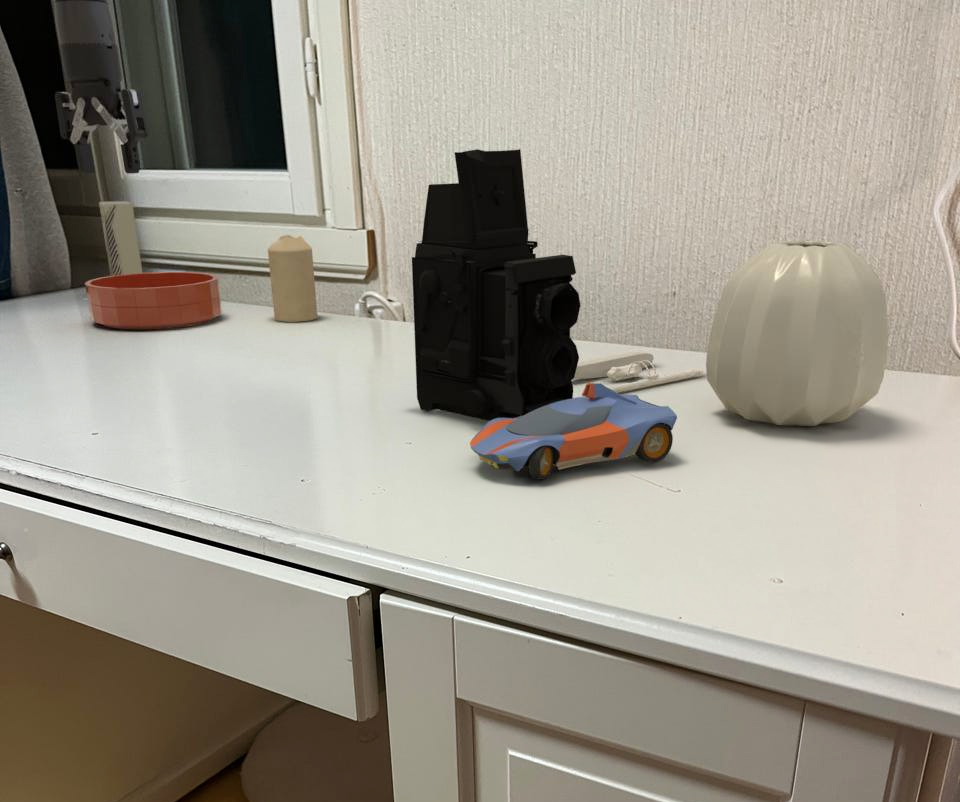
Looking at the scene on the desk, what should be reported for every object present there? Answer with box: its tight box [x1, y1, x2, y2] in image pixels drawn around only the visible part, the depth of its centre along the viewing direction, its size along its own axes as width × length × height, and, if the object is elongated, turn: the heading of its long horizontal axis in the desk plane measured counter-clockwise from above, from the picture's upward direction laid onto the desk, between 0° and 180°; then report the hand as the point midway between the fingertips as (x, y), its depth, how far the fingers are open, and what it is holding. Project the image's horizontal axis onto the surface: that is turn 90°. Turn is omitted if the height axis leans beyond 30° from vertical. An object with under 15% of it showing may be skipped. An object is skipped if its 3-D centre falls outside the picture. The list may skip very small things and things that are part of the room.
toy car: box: [469, 382, 678, 480], centre depth 70 cm, size 8×15×5 cm, turn 117°
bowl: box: [84, 271, 223, 331], centre depth 127 cm, size 16×16×5 cm
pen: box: [572, 350, 654, 380], centre depth 96 cm, size 2×14×2 cm, turn 131°
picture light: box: [606, 360, 704, 394], centre depth 93 cm, size 14×4×2 cm, turn 127°
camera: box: [411, 148, 581, 422], centre depth 79 cm, size 10×14×20 cm
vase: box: [705, 240, 889, 427], centre depth 79 cm, size 14×14×13 cm
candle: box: [267, 234, 318, 323], centre depth 126 cm, size 6×6×10 cm
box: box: [98, 200, 143, 276], centre depth 147 cm, size 5×4×13 cm
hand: (110, 173), depth 142 cm, fingers open, 8 cm apart
